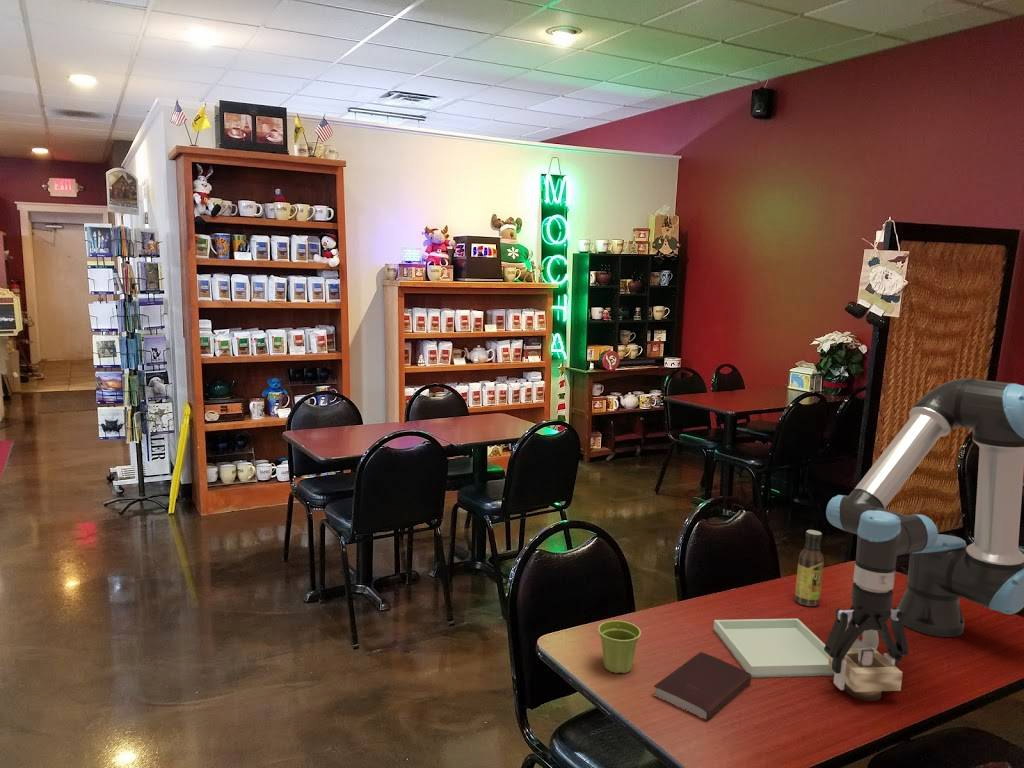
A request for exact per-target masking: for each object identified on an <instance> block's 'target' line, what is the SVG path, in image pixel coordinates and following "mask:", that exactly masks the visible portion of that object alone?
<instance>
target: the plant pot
mask: <svg viewBox="0 0 1024 768" xmlns="http://www.w3.org/2000/svg"><path fill="white" fill-rule="evenodd" d="M597 627H598V628H597V632H598V634H599V636H600V639H601V647H602V648H601V649H602V658H603V666H604V668H605V670H607V671H608V670H609V672H611V673H613V672H614V673H613V674H618V673H622V674H626V673H629V672H630V671H631V670H632V668H633V663H634V658H635V653H636V648H637V644H638V641H639V638H640V637H641V636H642V635H641V634H642V631H641V629H640V628H639V626H637V625H635V624H634V623H632V622H628V621H624V620H616V619H615V620H608V621H604V622H602V623H600V624H599V625H598V626H597Z"/></svg>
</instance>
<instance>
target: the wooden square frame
mask: <svg viewBox="0 0 1024 768" xmlns="http://www.w3.org/2000/svg"><path fill="white" fill-rule="evenodd" d="M872 649H873V650H874V654H873V663H872V667H865V668H860V667H859V666H858V665H857V662H858V653H859V648H850V649H849V651H848V652H847V654H846V655H845V657H844V659H845V660H846V661H847V664H846V673H845V683H846V684H847V685H848V686H849V687H850V688H851V689H852V690H853V691H854V692H870V691H882V692H891V691H892V692H893V691H894V692H896V691H902V690H901V689H902V683H903V681H902V680H903V673H904V672H903V671H902V670H900V669H899V668H898V666H897V667H896V666H895V665H893V664H892V663H891V662H890V661H889V660H887V659H886V658H885V657H884V654H882V653H880V652H879V650H877V649H875V648H872ZM832 660H833V658H832V657H830V656H829V665H828V666H829V667H830V668H831V669H832Z"/></svg>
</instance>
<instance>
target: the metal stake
mask: <svg viewBox="0 0 1024 768" xmlns="http://www.w3.org/2000/svg"><path fill="white" fill-rule="evenodd" d="M873 654H874V650H873V649H872V648H870V647H868V646H860V647H859V653H858V662H857V665H858V666H859V667H860V668H865V667H872V663H873ZM843 691H845V692H846V693H847V694H848V695H850V696H852V697H853V698H856V699H859V700H862V701H867V702H875V701H878V700H880V699H881V698H882V692H883V691H870V692H854V691H853V690H852V689H851V688H850V687H849V686H848V685H847V684H846V683H845V684H844V690H843Z"/></svg>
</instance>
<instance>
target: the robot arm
mask: <svg viewBox="0 0 1024 768" xmlns="http://www.w3.org/2000/svg"><path fill="white" fill-rule="evenodd" d="M908 417H909V419H908V420H907V421H906V423H905V424H904V425H903V426H902V428H901V429H900V431H898V433H897V434H896V435H895V437H894V438H893V439H892V441H890V443H889V444H888V446H887V447H886V448H885V449H884V451H882V454H880V456H879V457H878V458H877V459H876V461H875V462H874V463H873V464H872V465H871V467H870V468H869V469H868V471H867V472H866V473H865V475H864V476H863V478H861V480H860V481H859V482H858V483H857V484H856V487H855V488H854V489H853V490H852V491H851V492H850V494H849V495H842V494H837V495H836V496H833V497H832V498H831V499H830V500H829V501H828V503H827V505H826V510H825V516H826V519H827V521H828V523H829V524H830V525H832V526H833V527H835V528H838V529H840V530H842V531H844V532H848V533H851V534H853V535H854V534H855V535H857V540H856V541H857V542H856V554H855V561H854V570H853V578H852V579H853V580H852V581H853V583H852V588H851V589H852V590H851V607H850V608H849V609H845V610H843V609H841V608H839V607H838V608H837V609H836V610H835V620H834V622H833V625H832V628H831V631H830V633H829V635H828V638H827V640H826V643H825V648H824V651H825V652H826V653H827V654H828V655H829V656H830V657H832V658H833V660H832V670H833V671H834V672H835V673H834V675H833V684H834V685H835V686H836V688H838V689H839V690H840V691H845V690H844V684H845V673H846V664H847V661H846V660H845V659H844V657H845V655H846V654H847V652H848V651H849V649H850V648H851V646H852V645H853V643H854V642H855V640H856V639H857V638H859V636H860V635H862V633H863V632H864V630H871V629H872V630H877V632H878V635H880V638H881V640H882V642H883V644H884V647H885V648H886V651H887V652H884V653H883V656H884V657H885V658H886V659H887V660H889V661H890V662H891V663H892V664H893V665H895V666H896V667H897V668H898V665H899V662H901V661H902V660H903V656H905V657H906V656H908V655H909V648H908V643H907V636H906V630H905V627H907V628H908V629H911V630H913V631H915V632H918V633H922V634H926V635H929V636H934V637H941V638H954V637H959V636H961V635H963V633H964V632H965V631H964V630H965V619H964V617H963V612H962V608H961V604H960V598H963V599H965V600H967V601H968V600H969V601H971V602H973V603H975V604H977V605H980V606H983V607H986V608H988V609H989V610H991V611H997V612H999V613H1003V614H1006V615H1014V614H1017V613H1018V612H1020V611H1021V610H1022V609H1024V553H1023V552H1022V551H1021V550H1019V539H1020V525H1021V524H1020V523H1021V514H1022V513H1021V512H1022V498H1023V497H1022V496H1023V486H1024V485H1023V483H1024V385H1021V384H1020V383H1019V384H1018V383H1017V382H1016V383H1015V382H1014V383H1012V382H1005V381H1004V382H1003V381H994V380H984V379H976V378H967V377H966V378H965V377H964V378H957V379H953V380H950V381H947V382H945V383H944V382H943V383H942V384H939V386H936V387H934V388H933V389H931V390H930V391H929V392H927V393H926V394H924V395H923V396H922V397H921V398H920V399H919V400H918V401H917V402H916V403H915V404H914V405H913V406H912V408H911V409H910V410H909V412H908ZM960 427H961V428H965V429H969V430H970V429H971V430H972V437H971V438H972V442H974V444H976V445H977V446H978V448H979V451H978V455H979V456H978V470H977V482H976V483H977V485H976V487H977V488H976V502H975V503H976V504H975V518H974V519H975V521H974V533H973V535H974V536H973V538H974V540H973V542H972V543H971V544H968V545H967V543H966V540H964V539H963V538H961V537H958V536H955V535H948V534H939V531H938V527H937V526H936V524H935V523H934V521H933V520H932V519H931V518H929V517H928V516H927V515H924V514H915V513H913V514H912V513H911V514H908V515H907V514H903V513H900V512H896V511H893V510H889V509H887V508H886V507H887V506H888V505H889V504H890V503H891V501H892V500H893V499H894V497H895V496H896V495H897V493H898V492H899V491H900V490H901V488H902V487H903V485H904V484H905V483H906V482H907V481H908V479H909V478H910V477H911V475H912V474H913V473H914V472H915V470H916V469H917V467H918V466H919V465H920V464H921V463H922V461H923V460H924V458H925V457H926V456H927V455H928V453H929V452H930V451H931V450H932V449H933V447H934V446H935V445H936V443H937V442H938V440H939V439H940V438H941V437H946V436H948V435H949V434H950V433H951V432H952V430H954V429H956V428H960ZM908 554H909V561H908V562H909V563H908V569H907V570H908V572H907V581H906V590H905V592H904V593H903V595H902V597H901V599H900V601H899V603H898V605H897V606H896V607H895V606H894V607H893V608H892V606H893V597H894V591H893V589H894V587H895V586H894V585H895V579H896V578H895V577H896V569H897V568H896V567H897V561H898V560H897V559H898V557H899V556H900V557H901V556H903V555H908ZM850 617H852V619H851V620H850ZM889 618H890V625H891V629H892V633H893V637H892V634H891V632H890V629H889V626H888V625H887V623H886V622H887V621H888V620H889ZM849 621H850V622H849ZM848 622H849V623H848ZM847 624H848V628H847V629H846V627H847ZM856 624H857V626H859V627H856ZM845 630H846V631H845ZM893 639H894V640H893Z"/></svg>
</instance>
